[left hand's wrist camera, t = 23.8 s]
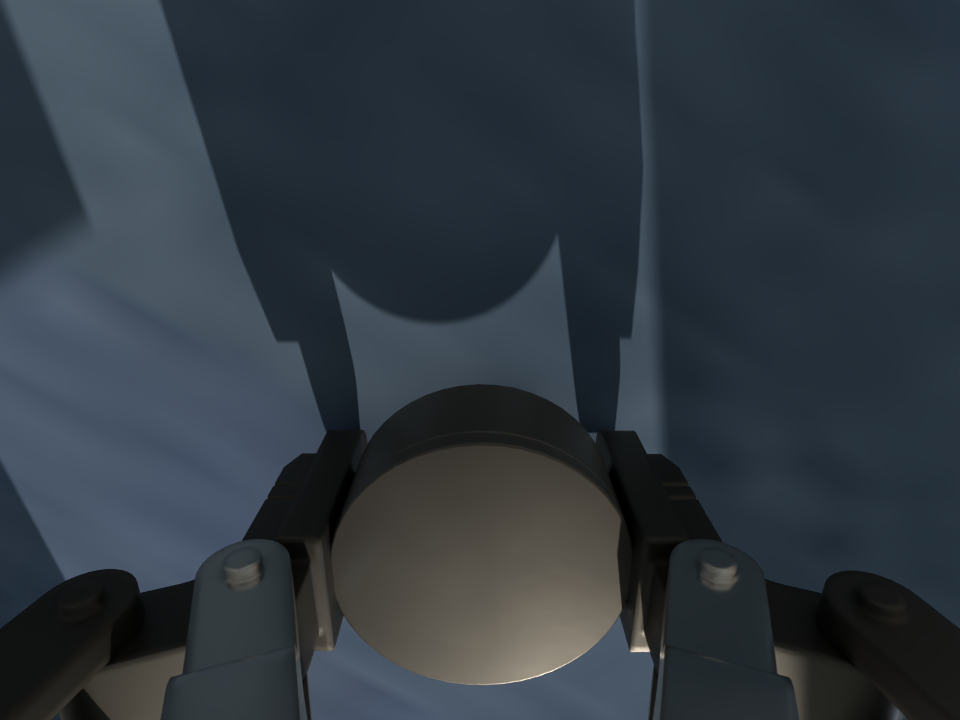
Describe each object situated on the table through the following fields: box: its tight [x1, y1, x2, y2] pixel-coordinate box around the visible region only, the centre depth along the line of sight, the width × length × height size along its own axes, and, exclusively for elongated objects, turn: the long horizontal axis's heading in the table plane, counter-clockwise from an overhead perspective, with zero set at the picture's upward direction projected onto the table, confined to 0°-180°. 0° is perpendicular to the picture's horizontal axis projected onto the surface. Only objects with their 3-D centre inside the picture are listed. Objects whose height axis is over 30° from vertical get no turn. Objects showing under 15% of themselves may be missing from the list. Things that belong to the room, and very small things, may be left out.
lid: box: [331, 384, 633, 685], centre depth 10 cm, size 5×5×2 cm
